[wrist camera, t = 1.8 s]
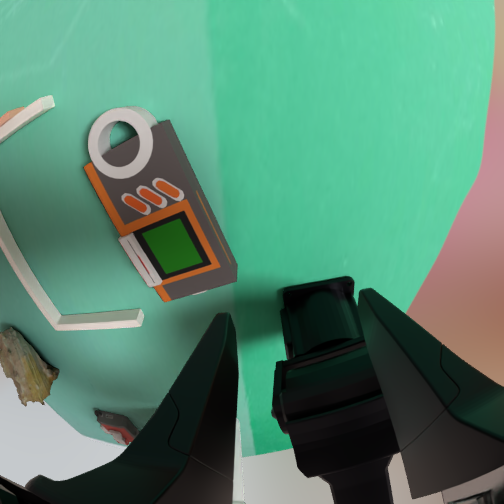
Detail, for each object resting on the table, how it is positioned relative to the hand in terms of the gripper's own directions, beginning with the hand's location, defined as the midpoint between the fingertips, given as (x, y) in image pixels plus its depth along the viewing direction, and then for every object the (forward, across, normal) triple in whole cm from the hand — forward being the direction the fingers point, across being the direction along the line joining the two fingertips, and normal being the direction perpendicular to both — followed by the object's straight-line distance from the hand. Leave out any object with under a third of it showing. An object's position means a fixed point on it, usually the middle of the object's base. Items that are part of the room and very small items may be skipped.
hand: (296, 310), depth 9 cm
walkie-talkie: (+13, +39, +46) cm, 61 cm away
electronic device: (+13, +8, 0) cm, 15 cm away
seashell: (+12, +40, +18) cm, 45 cm away
